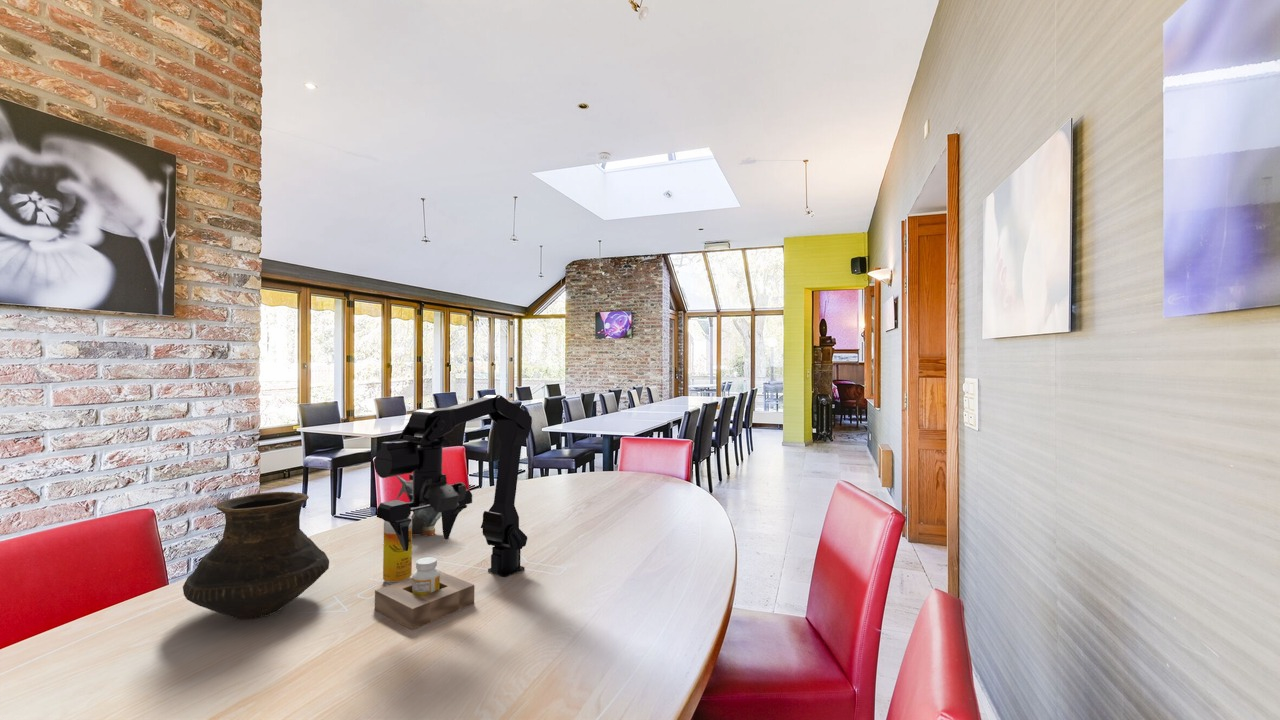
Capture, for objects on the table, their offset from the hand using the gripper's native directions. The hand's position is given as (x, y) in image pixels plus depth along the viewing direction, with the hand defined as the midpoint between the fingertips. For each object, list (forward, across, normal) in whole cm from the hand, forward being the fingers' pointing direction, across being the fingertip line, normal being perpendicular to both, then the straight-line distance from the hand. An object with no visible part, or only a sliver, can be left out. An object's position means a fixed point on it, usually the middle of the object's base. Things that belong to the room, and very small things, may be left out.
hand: (426, 544), depth 111 cm
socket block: (+13, 0, 0) cm, 13 cm away
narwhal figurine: (+13, +25, +44) cm, 52 cm away
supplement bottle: (+13, 0, 0) cm, 13 cm away
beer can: (+13, +4, +18) cm, 23 cm away
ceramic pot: (+13, -21, +26) cm, 36 cm away
